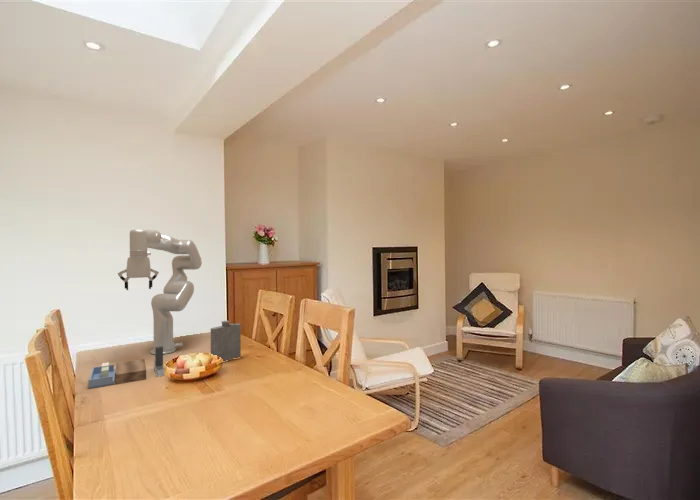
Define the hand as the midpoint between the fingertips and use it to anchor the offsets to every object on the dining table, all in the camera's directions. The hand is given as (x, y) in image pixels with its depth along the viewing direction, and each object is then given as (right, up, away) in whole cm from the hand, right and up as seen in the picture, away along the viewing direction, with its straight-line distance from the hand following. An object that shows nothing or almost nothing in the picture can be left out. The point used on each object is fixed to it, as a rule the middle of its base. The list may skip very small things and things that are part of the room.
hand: (138, 289), depth 176 cm
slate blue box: (-2, -36, -23) cm, 43 cm away
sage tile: (+2, -33, -24) cm, 41 cm away
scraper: (+16, -36, -11) cm, 41 cm away
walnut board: (+7, -36, -17) cm, 41 cm away
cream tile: (-2, -33, -18) cm, 38 cm away
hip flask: (+41, -36, +3) cm, 55 cm away
